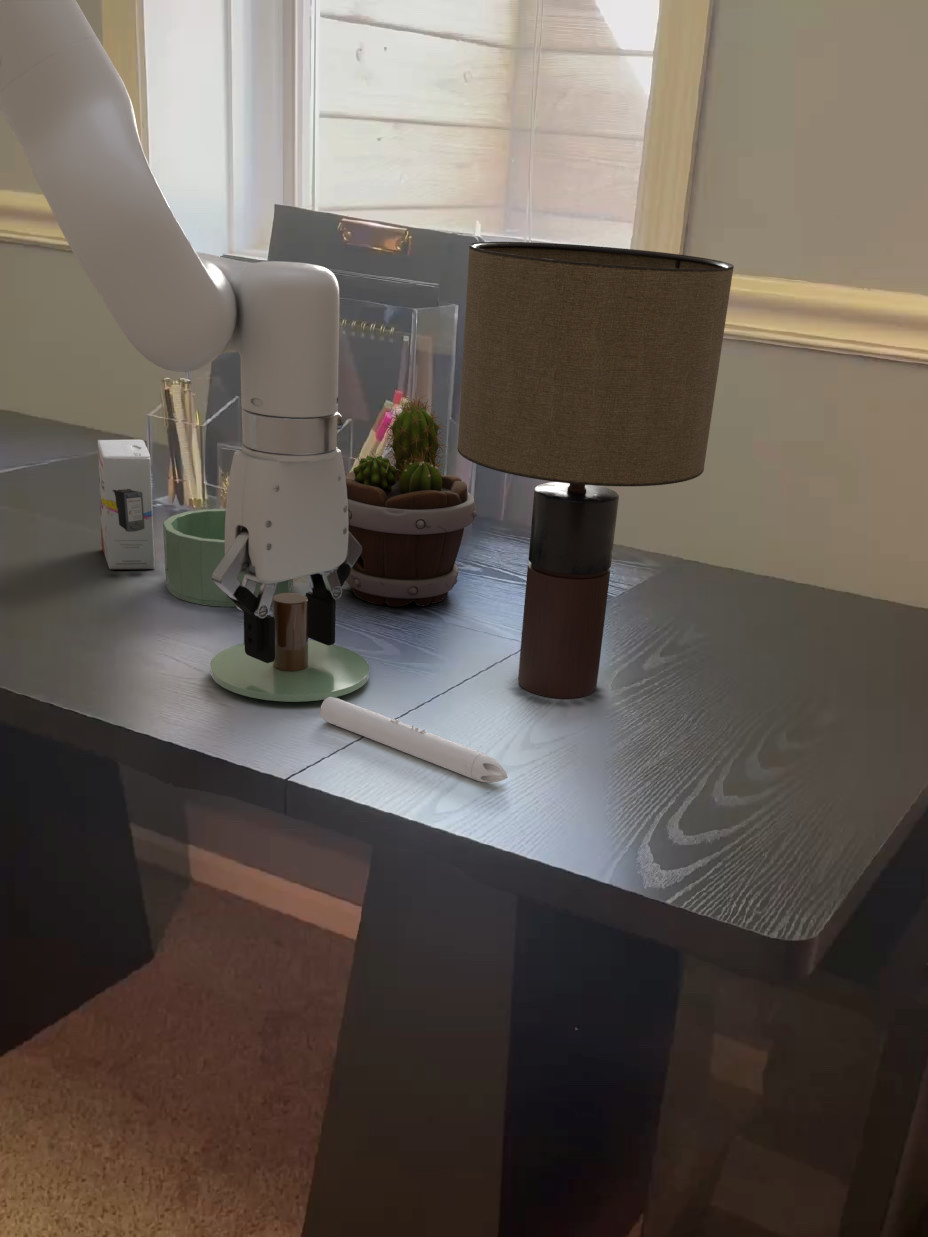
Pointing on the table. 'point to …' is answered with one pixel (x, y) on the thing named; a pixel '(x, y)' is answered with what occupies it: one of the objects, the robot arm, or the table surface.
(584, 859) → the table surface
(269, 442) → the robot arm
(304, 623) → the lid
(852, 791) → the table surface
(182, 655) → the table surface
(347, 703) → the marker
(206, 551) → the green round container
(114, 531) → the ink box
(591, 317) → the lamp
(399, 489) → the flowerpot
